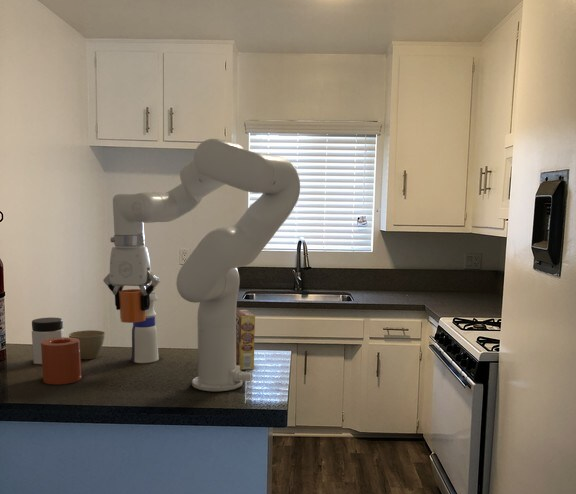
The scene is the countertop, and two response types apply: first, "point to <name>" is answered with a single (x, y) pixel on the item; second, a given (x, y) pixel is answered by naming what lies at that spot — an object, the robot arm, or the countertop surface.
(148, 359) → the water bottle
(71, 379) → the terracotta jar
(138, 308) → the orange cup
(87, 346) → the beige bowl
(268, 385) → the countertop surface
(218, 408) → the countertop surface
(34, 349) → the jar
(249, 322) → the candy box
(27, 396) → the countertop surface
